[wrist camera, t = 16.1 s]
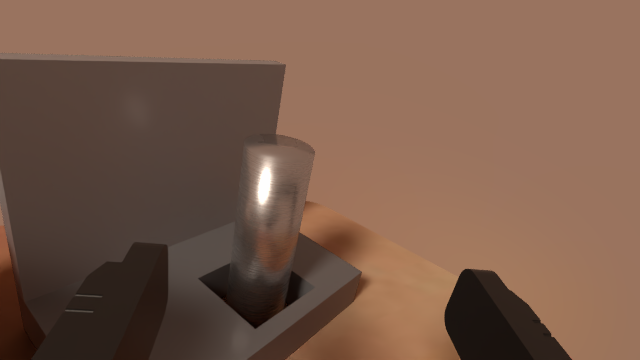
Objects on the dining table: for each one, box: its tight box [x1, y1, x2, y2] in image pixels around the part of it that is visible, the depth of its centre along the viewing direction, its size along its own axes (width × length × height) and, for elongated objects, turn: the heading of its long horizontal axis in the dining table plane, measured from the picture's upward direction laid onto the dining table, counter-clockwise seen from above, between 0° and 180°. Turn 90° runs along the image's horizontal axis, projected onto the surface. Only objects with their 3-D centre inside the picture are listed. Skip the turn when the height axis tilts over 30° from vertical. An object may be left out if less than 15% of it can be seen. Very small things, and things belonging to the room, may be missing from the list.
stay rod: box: [226, 134, 315, 329], centre depth 24 cm, size 4×4×13 cm
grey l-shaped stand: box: [0, 53, 362, 360], centre depth 23 cm, size 12×18×16 cm, turn 141°
